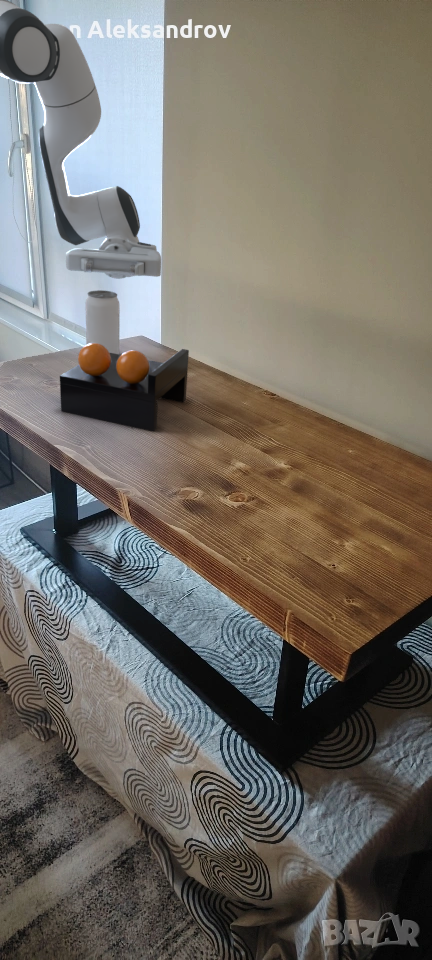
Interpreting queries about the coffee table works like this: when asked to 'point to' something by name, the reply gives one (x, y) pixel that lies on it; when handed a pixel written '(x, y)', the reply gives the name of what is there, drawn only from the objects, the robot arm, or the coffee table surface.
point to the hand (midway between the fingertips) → (110, 269)
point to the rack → (122, 385)
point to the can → (103, 319)
